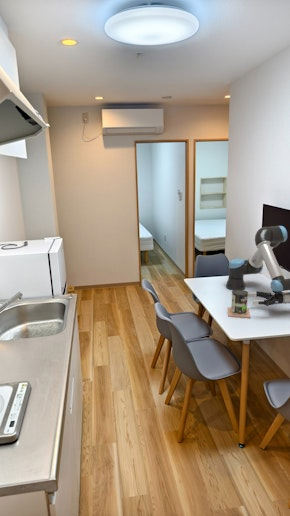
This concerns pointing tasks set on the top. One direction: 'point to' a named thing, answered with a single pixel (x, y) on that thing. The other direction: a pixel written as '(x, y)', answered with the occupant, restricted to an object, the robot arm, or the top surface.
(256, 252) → the robot arm
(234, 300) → the coffee can
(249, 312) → the terracotta tile
